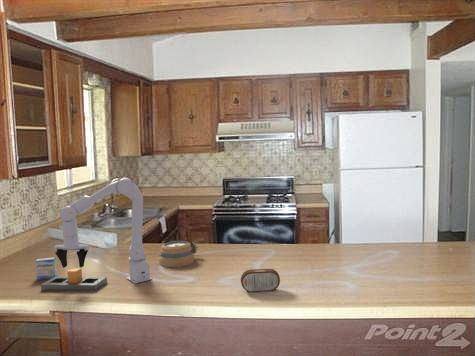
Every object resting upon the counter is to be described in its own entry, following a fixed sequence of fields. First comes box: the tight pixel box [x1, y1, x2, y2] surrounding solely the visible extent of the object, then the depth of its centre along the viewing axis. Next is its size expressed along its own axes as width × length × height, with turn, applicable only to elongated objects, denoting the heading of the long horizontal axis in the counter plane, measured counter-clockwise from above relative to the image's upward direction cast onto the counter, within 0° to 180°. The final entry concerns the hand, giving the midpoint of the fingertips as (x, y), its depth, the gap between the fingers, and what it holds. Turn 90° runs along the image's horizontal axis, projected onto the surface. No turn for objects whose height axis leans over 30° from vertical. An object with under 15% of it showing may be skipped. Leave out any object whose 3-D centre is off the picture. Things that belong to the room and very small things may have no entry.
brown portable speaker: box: [240, 268, 281, 293], centre depth 157 cm, size 15×3×8 cm, turn 92°
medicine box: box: [35, 256, 58, 281], centre depth 185 cm, size 8×4×9 cm, turn 105°
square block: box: [66, 267, 83, 283], centre depth 172 cm, size 4×4×7 cm
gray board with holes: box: [40, 276, 108, 292], centre depth 172 cm, size 24×10×2 cm, turn 81°
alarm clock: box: [158, 240, 199, 268], centre depth 203 cm, size 17×9×23 cm
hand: (73, 266), depth 171 cm, fingers open, 7 cm apart
